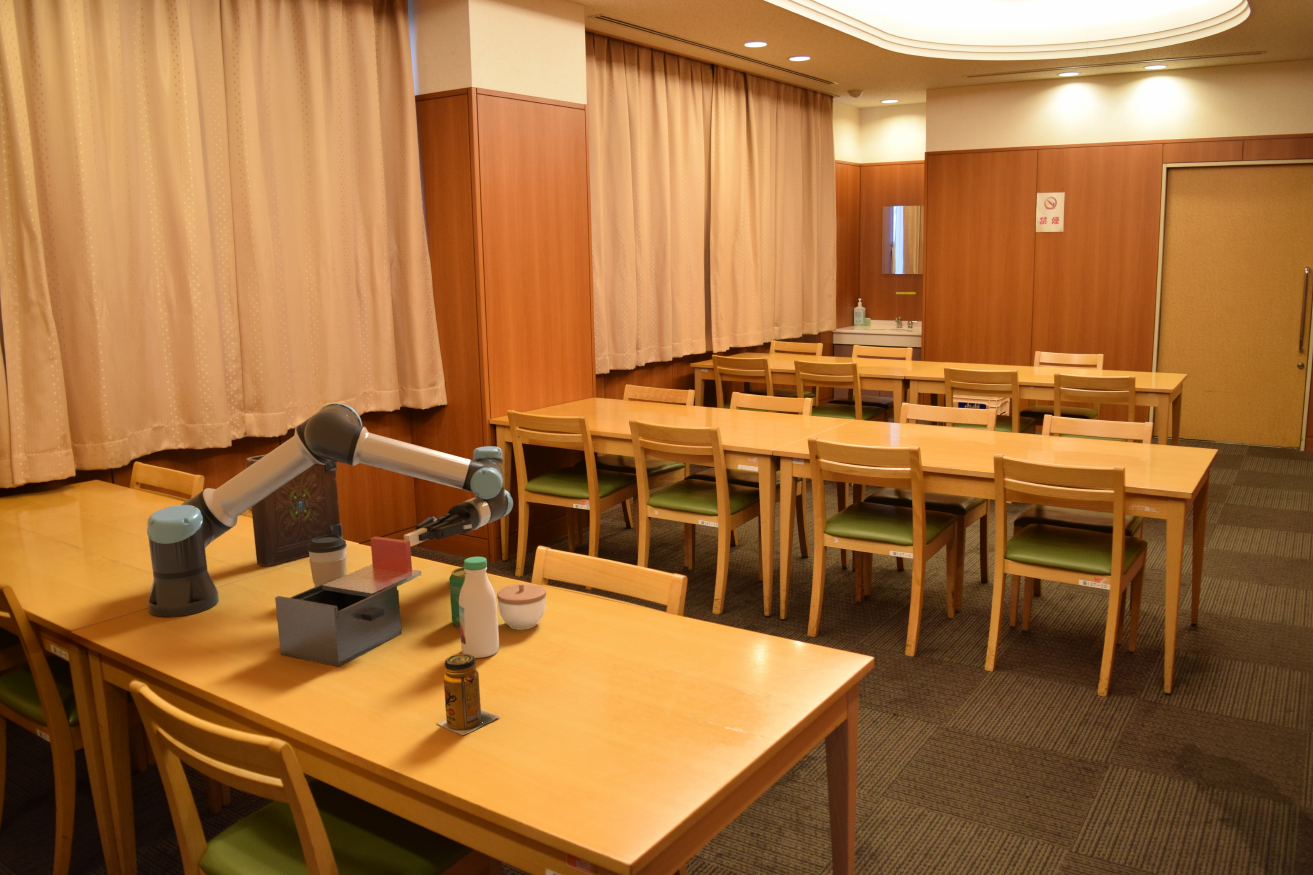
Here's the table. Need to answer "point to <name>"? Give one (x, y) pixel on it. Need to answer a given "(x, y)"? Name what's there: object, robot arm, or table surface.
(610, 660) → the table surface
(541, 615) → the lidded jar
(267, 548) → the decorative book
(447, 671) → the condiment
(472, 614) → the milk bottle
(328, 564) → the coffee cup
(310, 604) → the gray drawer chest
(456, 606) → the beverage can
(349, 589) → the lid
